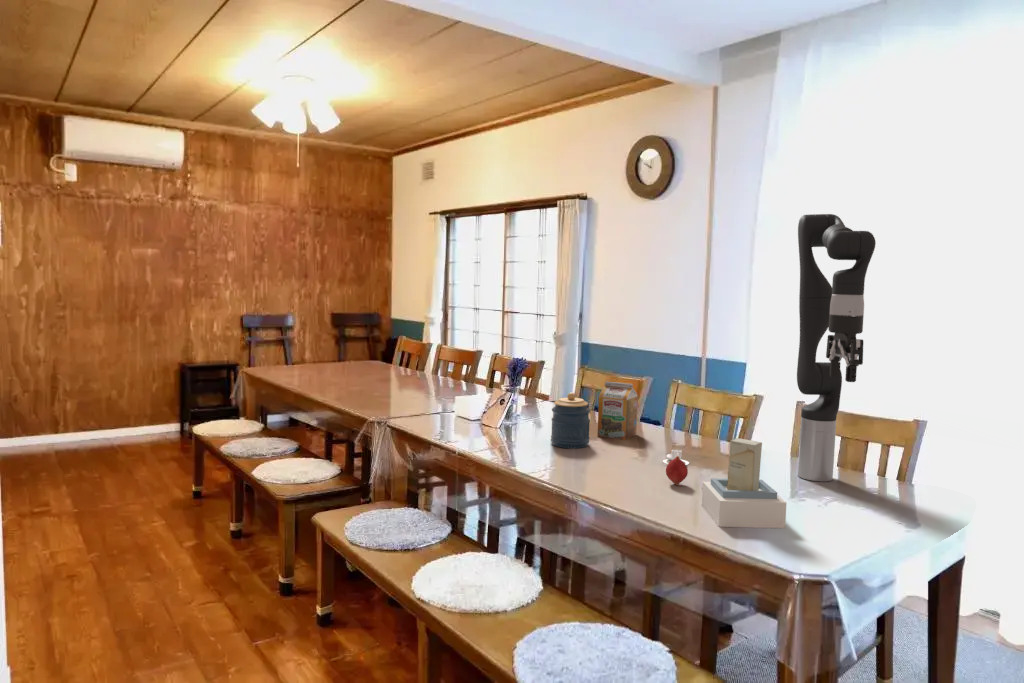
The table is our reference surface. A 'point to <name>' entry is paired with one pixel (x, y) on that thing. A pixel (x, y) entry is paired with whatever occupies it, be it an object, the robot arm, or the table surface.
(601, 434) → the milk carton
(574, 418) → the canister
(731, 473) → the skincare box
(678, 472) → the onion
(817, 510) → the table surface
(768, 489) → the frame
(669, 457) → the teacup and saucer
